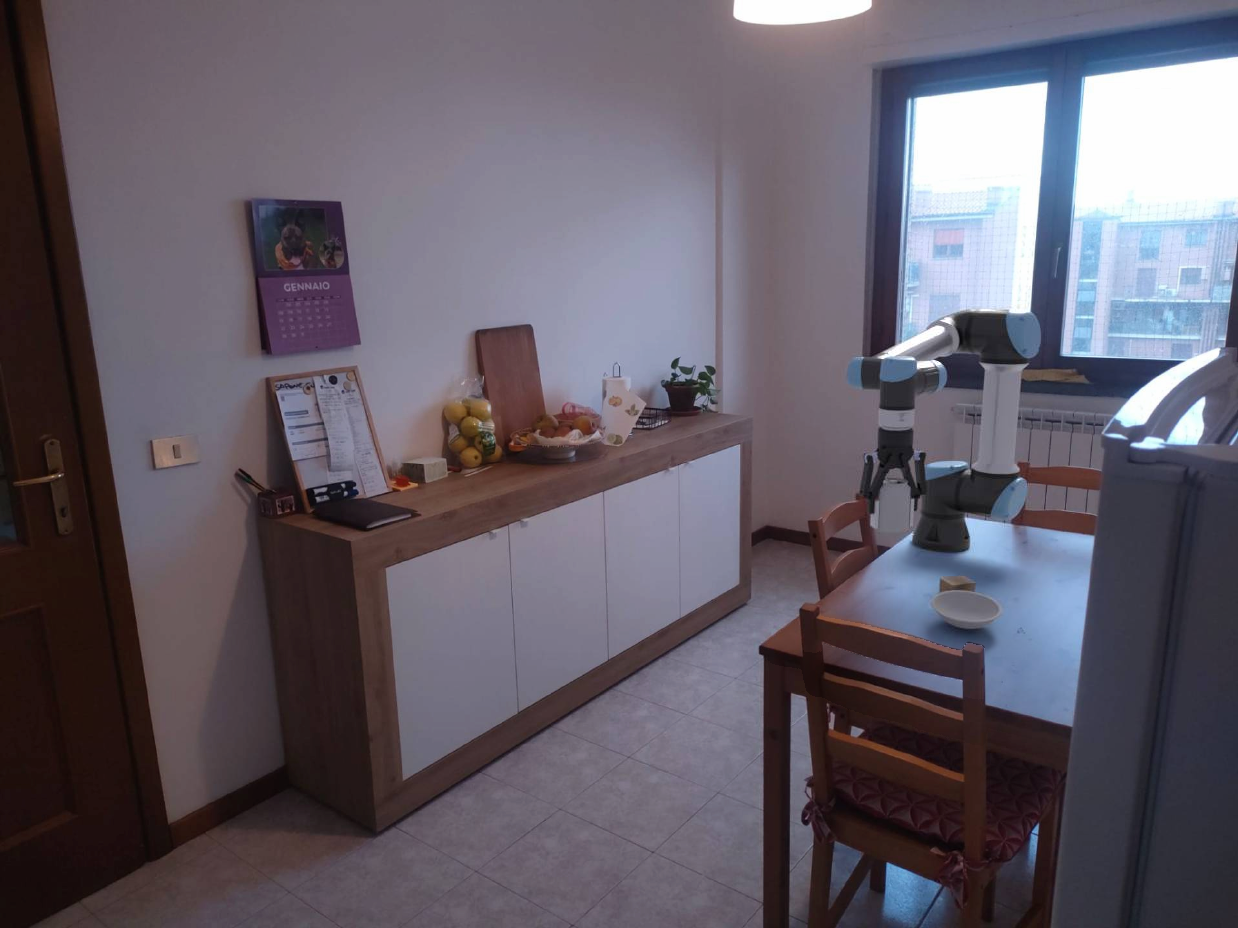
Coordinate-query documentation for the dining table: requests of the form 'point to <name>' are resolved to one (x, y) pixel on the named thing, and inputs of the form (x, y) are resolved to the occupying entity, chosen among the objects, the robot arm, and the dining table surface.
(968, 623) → the dish
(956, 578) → the walnut block
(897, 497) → the can
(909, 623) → the dining table surface
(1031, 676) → the dining table surface
